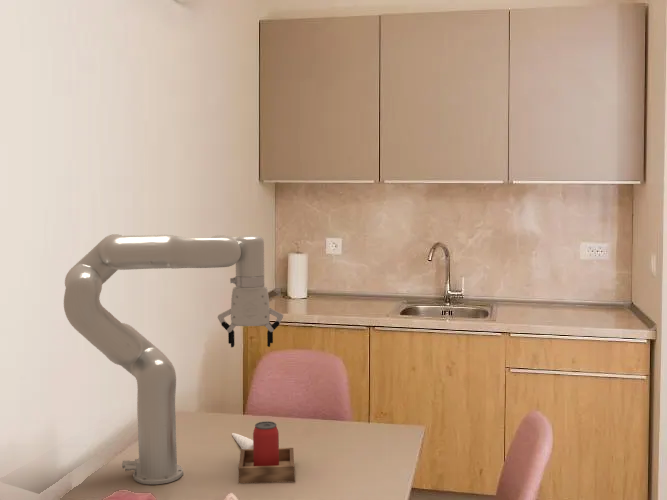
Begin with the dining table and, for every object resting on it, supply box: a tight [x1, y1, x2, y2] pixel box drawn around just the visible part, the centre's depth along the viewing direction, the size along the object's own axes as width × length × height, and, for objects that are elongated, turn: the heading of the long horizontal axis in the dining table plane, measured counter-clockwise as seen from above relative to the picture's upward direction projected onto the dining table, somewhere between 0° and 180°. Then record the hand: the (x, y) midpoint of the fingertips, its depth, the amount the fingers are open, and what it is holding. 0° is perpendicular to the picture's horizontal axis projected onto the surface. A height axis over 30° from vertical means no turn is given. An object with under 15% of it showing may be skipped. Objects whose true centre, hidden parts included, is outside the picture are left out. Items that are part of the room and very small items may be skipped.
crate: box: [238, 447, 295, 484], centre depth 207 cm, size 14×14×4 cm
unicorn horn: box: [231, 432, 253, 450], centre depth 227 cm, size 5×24×5 cm, turn 20°
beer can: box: [252, 420, 280, 466], centre depth 206 cm, size 7×7×12 cm
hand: (250, 346), depth 211 cm, fingers open, 9 cm apart
